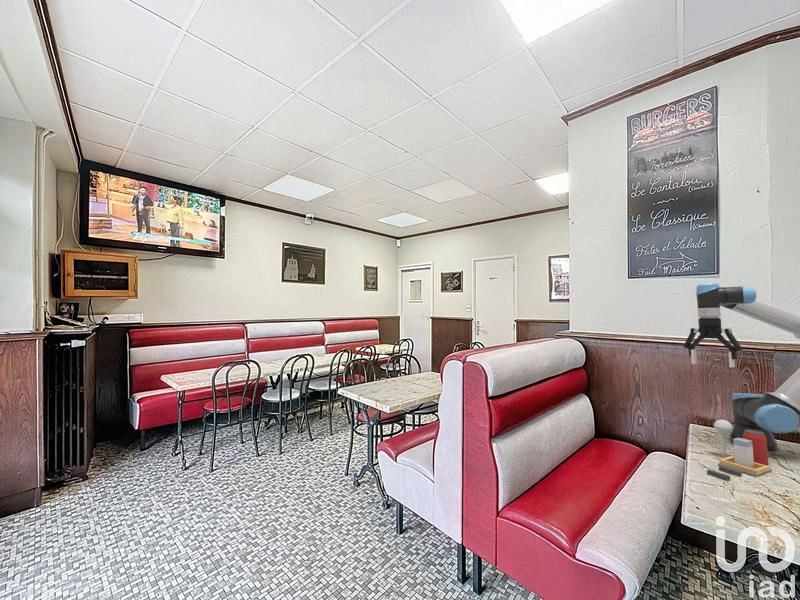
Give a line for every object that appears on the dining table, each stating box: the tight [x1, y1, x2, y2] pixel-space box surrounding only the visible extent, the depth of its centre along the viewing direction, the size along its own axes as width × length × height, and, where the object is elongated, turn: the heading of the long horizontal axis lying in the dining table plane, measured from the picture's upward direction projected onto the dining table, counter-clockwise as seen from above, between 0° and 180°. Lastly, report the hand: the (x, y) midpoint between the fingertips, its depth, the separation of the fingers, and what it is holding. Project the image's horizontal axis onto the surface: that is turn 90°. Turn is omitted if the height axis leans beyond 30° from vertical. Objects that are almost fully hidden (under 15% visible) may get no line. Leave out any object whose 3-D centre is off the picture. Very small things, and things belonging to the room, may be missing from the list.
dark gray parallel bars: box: [706, 466, 743, 482], centre depth 125 cm, size 10×6×2 cm, turn 113°
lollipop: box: [713, 419, 734, 458], centre depth 142 cm, size 6×6×15 cm
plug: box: [732, 438, 754, 468], centre depth 131 cm, size 4×4×10 cm
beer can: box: [743, 429, 769, 466], centre depth 137 cm, size 7×7×12 cm
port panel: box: [717, 455, 772, 478], centre depth 131 cm, size 12×11×2 cm
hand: (712, 365), depth 151 cm, fingers open, 13 cm apart
